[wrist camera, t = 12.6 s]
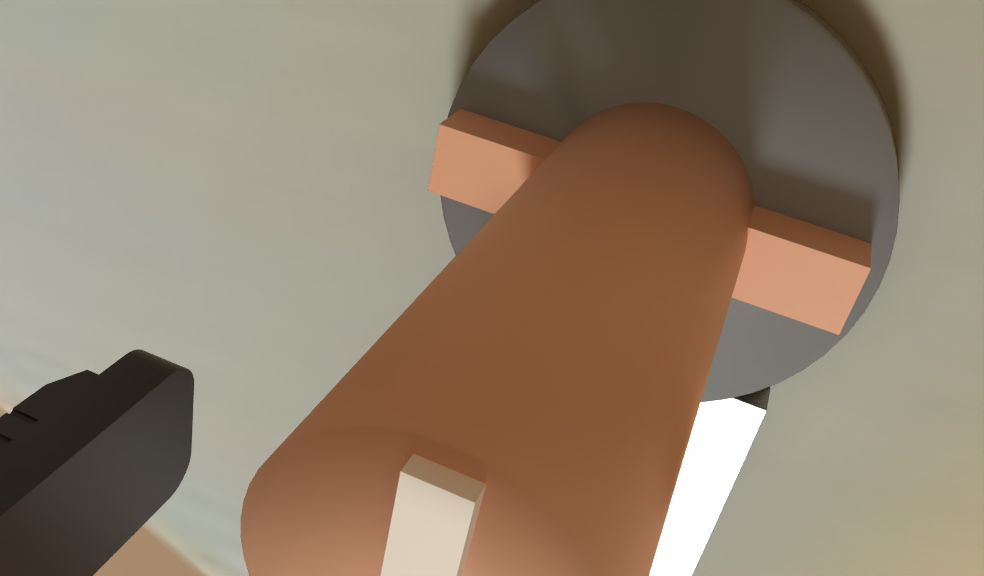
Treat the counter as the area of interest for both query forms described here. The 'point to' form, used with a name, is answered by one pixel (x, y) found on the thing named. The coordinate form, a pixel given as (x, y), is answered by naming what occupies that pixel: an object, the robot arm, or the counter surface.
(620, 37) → the coaster
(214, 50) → the counter surface
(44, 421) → the robot arm
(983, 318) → the counter surface
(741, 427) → the keeper post
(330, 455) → the knob
